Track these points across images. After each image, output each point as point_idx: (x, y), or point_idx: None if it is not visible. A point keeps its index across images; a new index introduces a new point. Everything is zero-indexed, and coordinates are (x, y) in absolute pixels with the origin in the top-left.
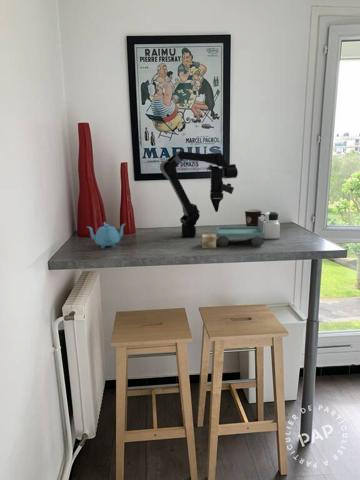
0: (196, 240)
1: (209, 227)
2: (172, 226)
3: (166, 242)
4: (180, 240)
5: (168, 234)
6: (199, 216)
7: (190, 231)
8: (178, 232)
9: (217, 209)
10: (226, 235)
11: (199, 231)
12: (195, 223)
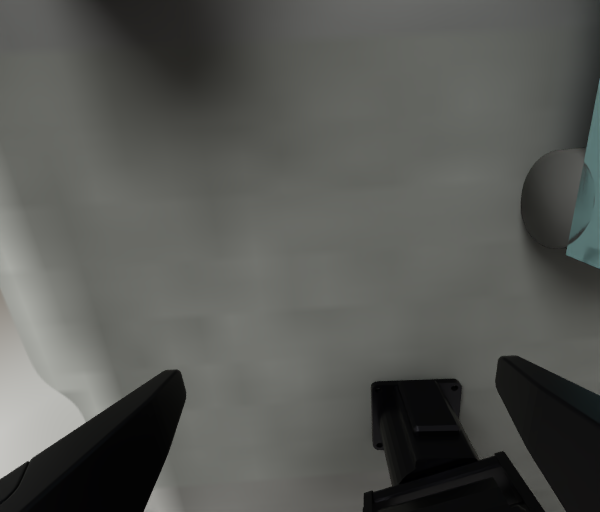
0: (533, 361)
1: (128, 310)
2: (156, 503)
3: (554, 494)
4: (518, 440)
5: (361, 502)
6: (516, 505)
7: (465, 433)
8: (308, 465)
9: (564, 389)
10: None
11: (268, 362)
12: (511, 464)
